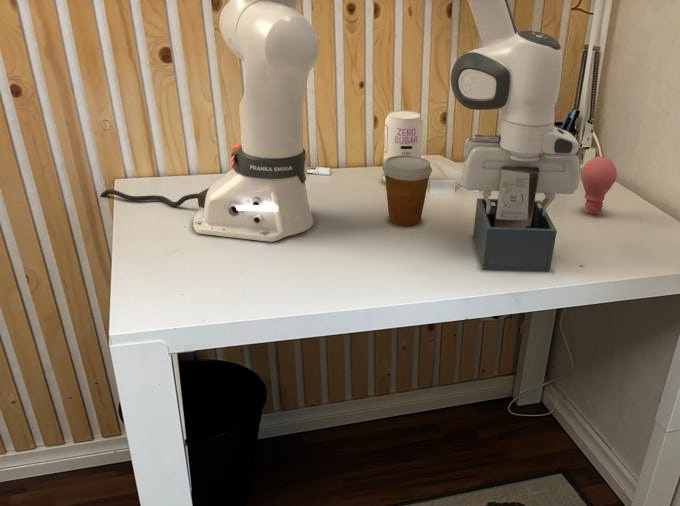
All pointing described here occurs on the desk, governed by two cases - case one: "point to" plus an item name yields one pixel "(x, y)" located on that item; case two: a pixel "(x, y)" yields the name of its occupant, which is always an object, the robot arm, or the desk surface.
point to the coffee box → (516, 197)
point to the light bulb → (597, 182)
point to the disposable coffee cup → (406, 188)
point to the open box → (513, 242)
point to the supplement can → (402, 134)
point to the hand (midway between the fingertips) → (515, 214)
